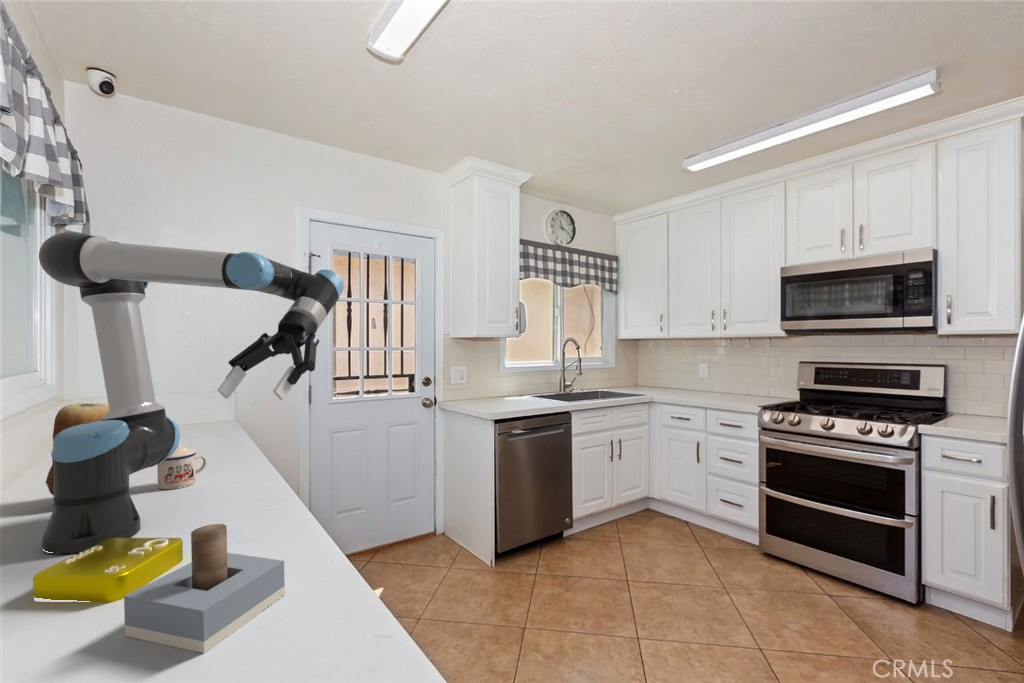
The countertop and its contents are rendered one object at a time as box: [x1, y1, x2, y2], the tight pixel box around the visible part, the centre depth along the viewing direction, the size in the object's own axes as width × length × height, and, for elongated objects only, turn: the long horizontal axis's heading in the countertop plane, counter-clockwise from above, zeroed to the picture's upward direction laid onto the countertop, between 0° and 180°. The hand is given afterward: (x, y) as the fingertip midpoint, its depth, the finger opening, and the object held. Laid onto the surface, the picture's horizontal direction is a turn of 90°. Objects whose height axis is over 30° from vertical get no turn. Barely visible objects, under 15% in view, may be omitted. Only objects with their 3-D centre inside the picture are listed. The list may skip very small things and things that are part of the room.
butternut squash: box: [45, 402, 109, 497], centre depth 120 cm, size 14×13×25 cm
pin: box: [190, 523, 228, 591], centre depth 69 cm, size 4×4×11 cm
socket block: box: [123, 552, 286, 654], centre depth 69 cm, size 14×14×6 cm
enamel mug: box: [156, 443, 208, 490], centre depth 133 cm, size 12×9×12 cm
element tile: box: [32, 537, 184, 604], centre depth 80 cm, size 15×15×5 cm
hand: (249, 395), depth 92 cm, fingers open, 13 cm apart
